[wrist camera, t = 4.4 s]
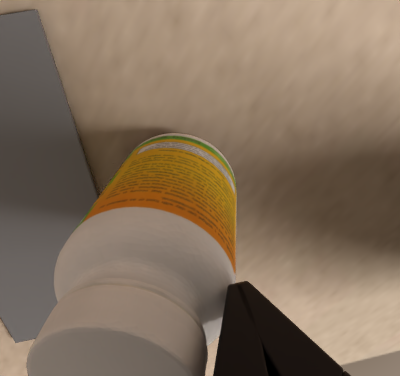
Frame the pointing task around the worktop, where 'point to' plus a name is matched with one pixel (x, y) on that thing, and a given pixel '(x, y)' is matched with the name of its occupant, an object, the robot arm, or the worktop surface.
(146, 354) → the supplement bottle
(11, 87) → the mat
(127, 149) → the worktop surface
